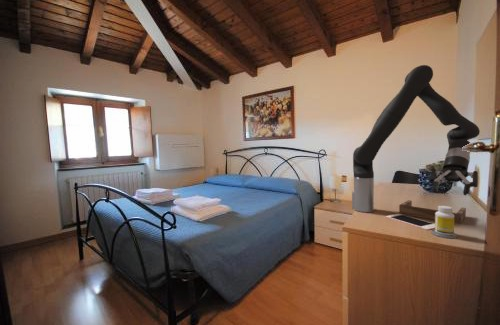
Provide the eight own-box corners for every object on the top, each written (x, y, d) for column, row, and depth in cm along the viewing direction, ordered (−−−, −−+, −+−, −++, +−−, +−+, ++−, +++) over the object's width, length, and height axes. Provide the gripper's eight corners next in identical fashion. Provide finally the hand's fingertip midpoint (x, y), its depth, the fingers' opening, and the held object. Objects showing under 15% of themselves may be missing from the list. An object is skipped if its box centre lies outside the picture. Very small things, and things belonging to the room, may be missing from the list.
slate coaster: (428, 234, 84) (428, 232, 84) (435, 229, 88) (435, 228, 87) (453, 240, 78) (453, 238, 78) (459, 235, 82) (459, 233, 82)
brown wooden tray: (408, 207, 118) (408, 200, 117) (465, 216, 101) (465, 208, 100) (399, 213, 109) (399, 205, 109) (460, 224, 92) (460, 214, 92)
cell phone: (427, 231, 87) (427, 229, 87) (385, 217, 104) (385, 215, 104) (441, 227, 90) (441, 225, 90) (398, 215, 107) (398, 213, 107)
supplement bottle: (457, 236, 80) (458, 209, 79) (440, 235, 81) (441, 208, 80) (447, 230, 85) (448, 205, 84) (431, 229, 86) (432, 204, 85)
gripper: (433, 154, 97) (425, 184, 90) (480, 155, 86) (474, 189, 79) (436, 166, 100) (428, 195, 94) (481, 167, 89) (476, 201, 83)
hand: (449, 192), depth 87 cm, fingers open, 8 cm apart
